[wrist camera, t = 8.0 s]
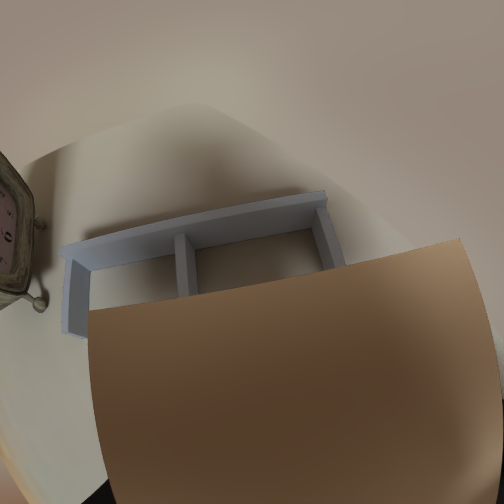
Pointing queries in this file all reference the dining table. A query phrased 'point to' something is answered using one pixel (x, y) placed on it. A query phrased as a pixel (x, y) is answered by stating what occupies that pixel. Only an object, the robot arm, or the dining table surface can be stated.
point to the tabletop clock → (16, 237)
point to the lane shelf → (191, 245)
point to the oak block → (305, 389)
